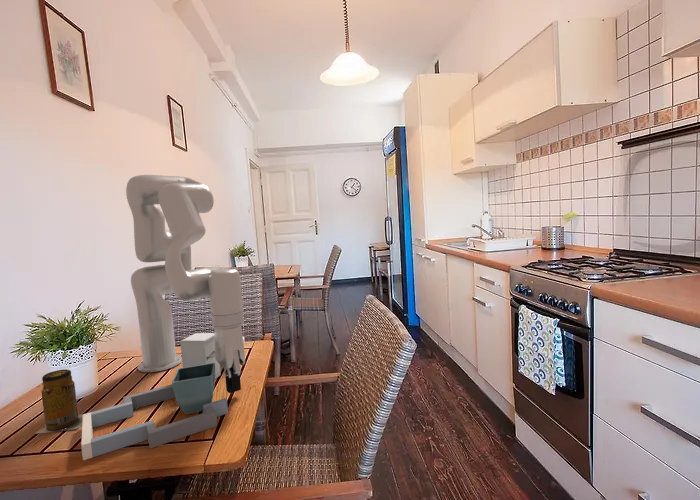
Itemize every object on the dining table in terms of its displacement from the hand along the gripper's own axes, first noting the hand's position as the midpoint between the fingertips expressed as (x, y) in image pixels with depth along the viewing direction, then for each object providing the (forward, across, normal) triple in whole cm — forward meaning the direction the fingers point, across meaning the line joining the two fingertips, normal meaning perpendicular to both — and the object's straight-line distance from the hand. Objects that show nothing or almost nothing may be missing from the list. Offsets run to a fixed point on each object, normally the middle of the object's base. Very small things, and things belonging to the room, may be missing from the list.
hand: (233, 390), depth 96 cm
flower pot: (+2, 0, -9) cm, 9 cm away
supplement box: (+2, -16, -4) cm, 17 cm away
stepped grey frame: (+2, 0, -18) cm, 18 cm away
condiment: (+2, -13, -35) cm, 37 cm away
